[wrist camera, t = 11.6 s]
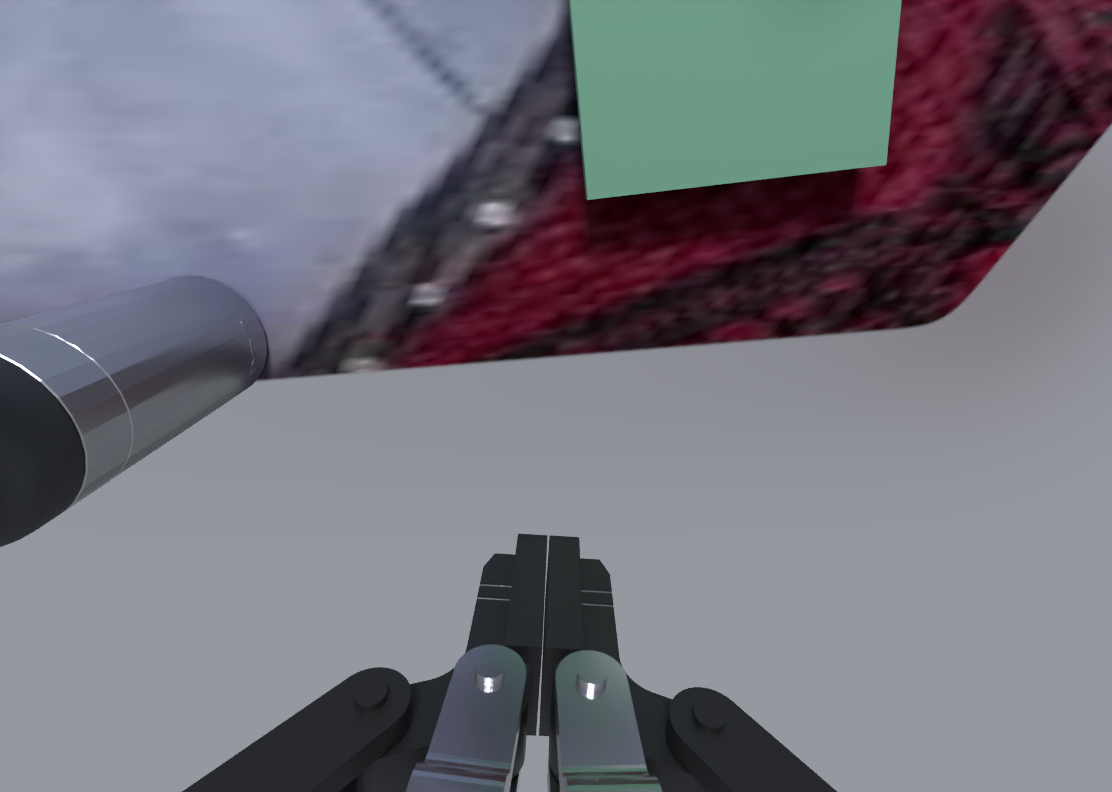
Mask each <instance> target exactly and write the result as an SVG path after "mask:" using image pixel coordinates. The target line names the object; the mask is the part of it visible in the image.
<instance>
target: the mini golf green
mask: <svg viewBox="0 0 1112 792" xmlns="http://www.w3.org/2000/svg"><path fill="white" fill-rule="evenodd" d="M568 3H569V15H570V26H571V37H572V49H573V60H574V71H575V83H576V94H577V106H578V117H579V128H580V140H581V151H582V163H583V174H584V185H585V197H586V199H587V200H592V199H600V198H609V197H617V196H626V195H634V194H643V193H651V192H660V191H668V190H677V189H685V188H694V187H702V186H711V185H719V184H728V183H736V182H745V181H753V180H762V179H770V178H779V177H787V176H796V175H804V174H813V173H821V172H830V171H838V170H847V169H855V168H864V167H872V166H881V165H886V163H887V152H888V141H889V130H890V119H891V108H892V98H893V87H894V76H895V65H896V54H897V43H898V32H899V21H900V11H901V0H568Z"/></svg>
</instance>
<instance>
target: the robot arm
mask: <svg viewBox="0 0 1112 792" xmlns="http://www.w3.org/2000/svg"><path fill="white" fill-rule="evenodd" d="M266 357H267V342H266V338H265V334H264V330H263V328H262V325H261V323H260V321H259V319H258V317H257V316H256V314H255V313H254V311H253V310H252V309H251V307H250V306H249V305H248V304H247V303H246V302H245V301H244V300H243V299H242V298H241V297H240V296H239V295H238V294H236V293H235V292H233V291H232V290H231V289H229V288H228V287H226V286H224V285H222V284H219V283H217V282H215V281H212V280H209V279H205V278H201V277H181V278H175V279H171V280H167V281H163V282H159V283H156V284H152V285H148V286H144V287H140V288H136V289H132V290H128V291H124V292H120V293H117V294H113V295H109V296H105V297H102V298H98V299H94V300H90V301H86V302H83V303H79V304H75V305H71V306H68V307H64V308H60V309H56V310H52V311H49V312H45V313H41V314H37V315H34V316H30V317H26V318H22V319H18V320H15V321H11V322H7V323H3V324H0V547H1V546H4V545H7V544H10V543H12V542H15V541H17V540H20V539H21V538H23V537H25V536H26V535H29V534H30V533H32V532H34V531H35V530H37V529H39V528H40V527H41V526H43V525H44V524H46V523H47V522H49V521H50V520H52V519H53V518H55V517H56V516H58V515H59V514H61V513H62V512H64V511H65V510H67V509H68V508H70V507H71V506H73V505H74V504H76V503H77V502H79V501H80V500H82V499H83V498H85V497H86V496H88V495H89V494H91V493H92V492H94V491H95V490H97V489H98V488H100V487H101V486H103V485H104V484H106V483H107V482H109V481H110V480H111V479H113V478H114V477H116V476H117V475H119V474H120V473H122V472H123V471H125V470H126V469H128V468H129V467H131V466H132V465H134V464H135V463H137V462H138V461H140V460H141V459H143V458H144V457H146V456H147V455H149V454H150V453H152V452H153V451H155V450H156V449H158V448H159V447H161V446H162V445H164V444H165V443H166V442H168V441H170V440H171V439H173V438H174V437H176V436H177V435H178V434H180V433H182V432H183V431H184V430H186V429H188V428H189V427H191V426H192V425H193V424H195V423H197V422H198V421H199V420H201V419H202V418H204V417H205V416H207V415H208V414H210V413H211V412H213V411H214V410H216V409H217V408H219V407H221V406H222V405H223V404H225V403H226V402H228V401H229V400H231V399H232V398H234V397H235V396H237V395H238V394H240V393H241V392H242V391H244V390H245V389H247V388H248V387H250V386H251V385H252V384H253V383H254V382H255V381H256V380H257V379H258V378H259V377H260V375H261V373H262V371H263V369H264V366H265V362H266ZM546 552H547V535H530V534H518V539H517V547H516V554H515V555H511V554H494V555H493V557H492V558H491V559H490V560H489V561H488V562H487V563H486V565H485V566H484V568H483V572H482V577H481V582H480V587H479V592H478V597H477V601H476V606H475V611H474V616H473V621H472V626H471V630H470V635H469V640H468V645H467V649H466V652H465V654H464V655H463V656H462V657H461V658H460V659H459V660H458V662H457V663H456V666H455V668H453V669H452V670H451V671H449V672H448V673H446V674H444V675H442V676H440V677H438V678H435V679H432V680H428V681H423V682H419V683H414V684H410V685H409V683H408V681H407V679H406V678H405V677H404V676H403V675H402V674H401V673H399V672H398V671H395V670H393V669H389V668H382V667H380V668H370V669H366V670H363V671H360V672H358V673H356V674H354V675H352V676H350V677H349V678H347V679H346V680H344V681H343V682H342V683H340V684H339V685H337V686H336V687H334V688H333V689H331V690H330V691H328V692H327V693H325V694H324V695H323V696H321V697H320V698H318V699H317V700H315V701H314V702H312V703H311V704H309V705H308V706H306V707H305V708H304V709H302V710H301V711H299V712H298V713H296V714H295V715H293V716H292V717H290V718H289V719H288V720H286V721H285V722H283V723H282V724H280V725H279V726H277V727H276V728H274V729H273V730H271V731H270V732H269V733H267V734H266V735H264V736H263V737H261V738H260V739H258V740H257V741H255V742H254V743H252V744H251V745H250V746H248V747H247V748H245V749H244V750H242V751H241V752H239V753H238V754H236V755H235V756H234V757H232V758H231V759H229V760H228V761H226V762H225V763H223V764H222V765H221V766H219V767H217V768H216V769H215V770H213V771H212V772H210V773H209V774H207V775H206V776H204V777H203V778H201V779H200V780H199V781H197V782H196V783H194V784H193V785H191V786H190V787H188V788H187V789H186V790H184V791H182V792H518V788H519V782H520V771H521V768H522V766H523V763H524V758H525V748H526V735H536V726H537V712H538V697H539V683H540V669H541V655H542V637H543V616H544V615H543V614H544V595H545V574H546ZM539 736H549V760H548V773H547V783H548V792H837V791H836V790H834V789H833V788H832V787H831V786H830V785H829V784H827V783H826V782H825V781H824V780H823V779H822V778H821V777H819V776H818V775H817V774H816V773H815V772H814V771H812V770H811V769H810V768H809V767H808V766H807V765H806V764H804V763H803V762H802V761H801V760H800V759H799V758H797V757H796V756H795V755H794V754H793V753H791V752H790V751H789V750H788V749H787V748H786V747H785V746H783V745H782V744H781V743H780V742H779V741H778V740H776V739H775V738H774V737H773V736H772V735H771V734H769V733H768V732H767V731H766V730H765V729H764V728H763V727H762V726H760V725H759V724H758V723H757V722H756V721H755V720H753V719H752V718H751V717H750V716H749V715H748V714H746V713H745V712H744V711H743V710H742V709H741V708H740V707H738V706H737V705H736V704H735V703H734V702H733V701H731V700H730V699H729V698H727V697H726V696H724V695H722V694H721V693H719V692H716V691H714V690H711V689H708V688H700V687H694V688H688V689H685V690H683V691H681V692H679V693H678V694H677V695H676V696H675V697H674V699H673V700H672V699H669V698H666V697H664V696H661V695H658V694H655V693H652V692H650V691H648V690H645V689H644V688H642V687H640V686H639V685H638V684H636V683H635V682H634V681H633V680H632V679H631V678H629V676H628V675H627V674H626V672H625V671H624V669H623V667H622V665H621V662H620V658H619V651H618V642H617V633H616V624H615V616H614V608H613V598H612V590H611V581H610V574H609V573H608V571H607V570H606V568H605V567H604V565H603V564H602V563H601V561H600V560H596V559H580V547H579V537H565V536H550V539H549V554H548V569H547V582H546V597H545V616H544V638H543V662H542V684H541V705H540V728H539Z"/></svg>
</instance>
